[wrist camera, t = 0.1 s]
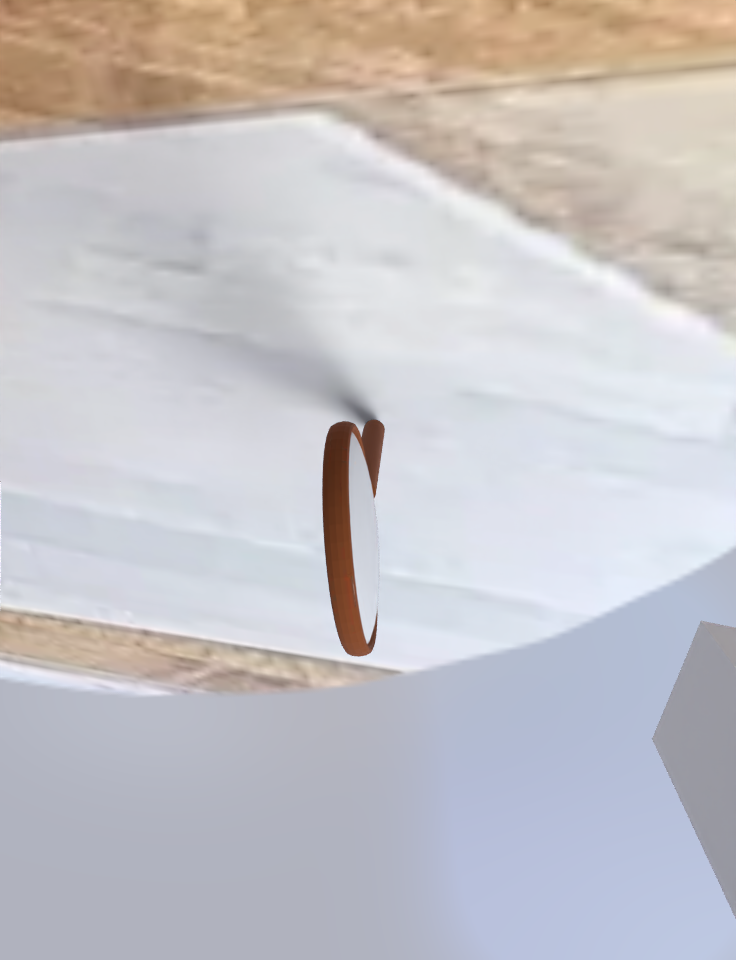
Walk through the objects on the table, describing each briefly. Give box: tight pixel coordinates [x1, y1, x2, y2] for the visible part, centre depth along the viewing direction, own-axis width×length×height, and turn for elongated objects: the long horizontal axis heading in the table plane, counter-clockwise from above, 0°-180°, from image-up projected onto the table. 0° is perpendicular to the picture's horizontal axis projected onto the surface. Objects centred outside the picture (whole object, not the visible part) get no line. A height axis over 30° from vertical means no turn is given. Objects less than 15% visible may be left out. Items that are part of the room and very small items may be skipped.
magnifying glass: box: [322, 420, 385, 656], centre depth 31 cm, size 9×2×20 cm, turn 6°
